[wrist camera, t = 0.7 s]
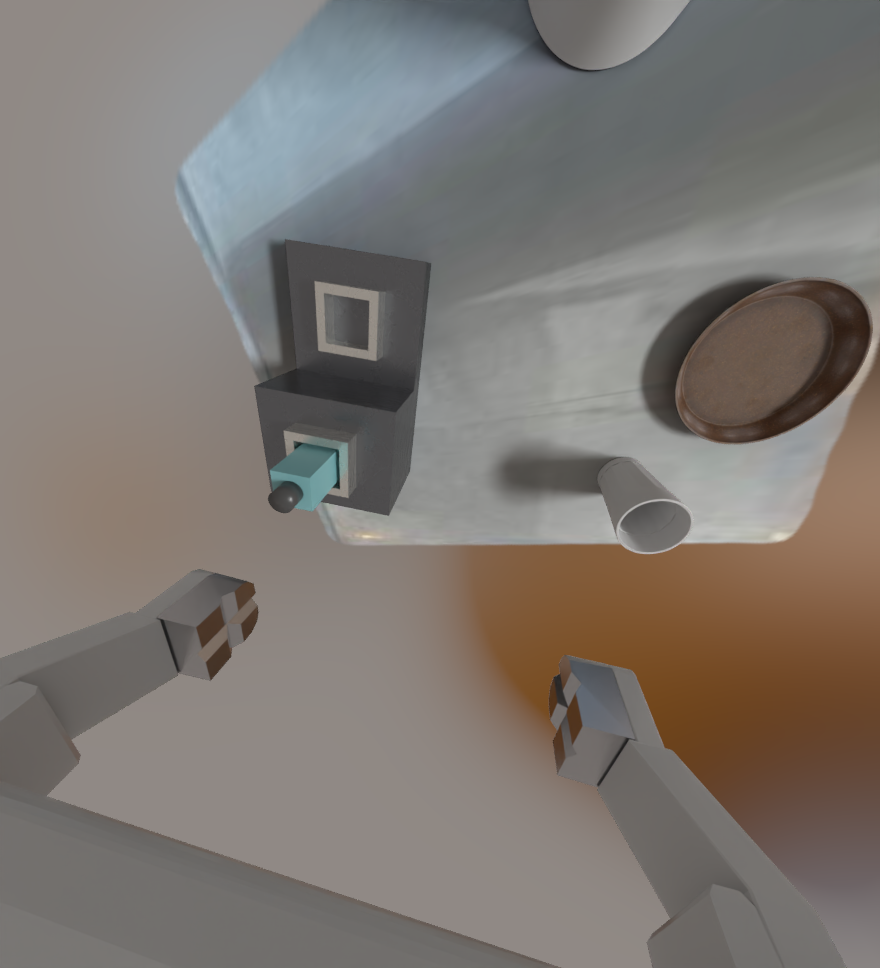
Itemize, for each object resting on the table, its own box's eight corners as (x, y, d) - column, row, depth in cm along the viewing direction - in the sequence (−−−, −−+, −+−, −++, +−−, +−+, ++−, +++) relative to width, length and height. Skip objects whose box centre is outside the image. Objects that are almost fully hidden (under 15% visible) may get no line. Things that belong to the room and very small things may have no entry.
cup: (617, 508, 51) (647, 564, 41) (579, 479, 49) (600, 530, 39) (663, 473, 47) (710, 525, 37) (624, 441, 45) (661, 486, 35)
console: (298, 242, 39) (207, 221, 27) (431, 263, 38) (399, 252, 26) (314, 452, 54) (259, 502, 41) (409, 471, 53) (383, 527, 41)
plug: (309, 437, 38) (257, 480, 30) (342, 444, 38) (298, 489, 30) (312, 473, 41) (264, 521, 33) (343, 479, 41) (303, 529, 32)
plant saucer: (818, 424, 41) (839, 433, 38) (658, 445, 45) (668, 454, 43) (874, 256, 33) (907, 253, 30) (672, 301, 37) (685, 302, 34)
